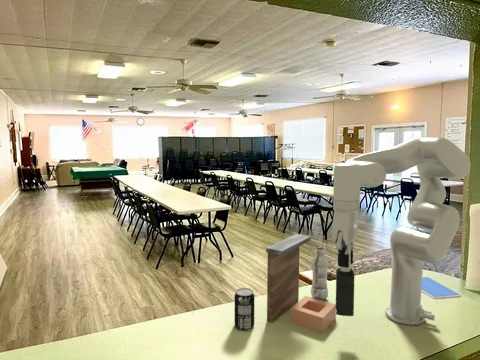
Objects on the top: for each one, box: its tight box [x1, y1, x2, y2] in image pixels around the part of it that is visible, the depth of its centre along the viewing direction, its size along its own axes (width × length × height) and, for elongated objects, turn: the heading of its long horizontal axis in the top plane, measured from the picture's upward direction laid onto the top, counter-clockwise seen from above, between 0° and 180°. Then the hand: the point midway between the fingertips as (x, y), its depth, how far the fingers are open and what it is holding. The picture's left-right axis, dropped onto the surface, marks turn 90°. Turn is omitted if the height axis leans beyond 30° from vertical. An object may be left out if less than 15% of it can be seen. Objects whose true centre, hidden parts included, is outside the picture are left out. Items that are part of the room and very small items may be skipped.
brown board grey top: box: [265, 233, 312, 324], centre depth 125 cm, size 6×22×26 cm, turn 145°
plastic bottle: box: [310, 246, 330, 301], centre depth 137 cm, size 6×7×20 cm
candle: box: [335, 242, 355, 317], centre depth 107 cm, size 5×5×25 cm
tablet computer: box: [421, 276, 461, 300], centre depth 148 cm, size 19×13×1 cm, turn 10°
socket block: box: [290, 295, 337, 334], centre depth 121 cm, size 12×12×5 cm
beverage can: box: [234, 287, 255, 331], centre depth 117 cm, size 7×7×12 cm
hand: (345, 264), depth 107 cm, fingers closed on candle, 3 cm apart
